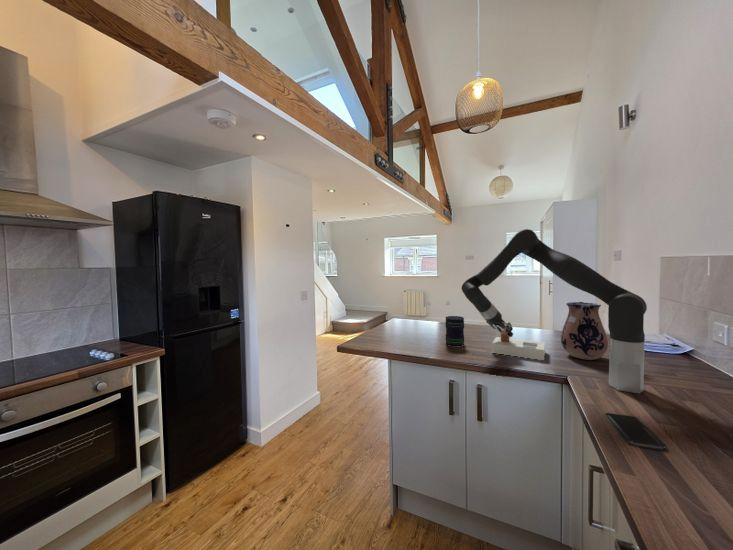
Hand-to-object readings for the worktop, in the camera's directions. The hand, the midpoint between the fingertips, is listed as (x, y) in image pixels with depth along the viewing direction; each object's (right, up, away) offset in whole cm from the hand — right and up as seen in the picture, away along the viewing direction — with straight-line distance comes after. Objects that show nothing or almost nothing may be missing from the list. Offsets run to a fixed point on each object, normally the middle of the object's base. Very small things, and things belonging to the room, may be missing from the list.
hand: (507, 334), depth 148 cm
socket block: (+3, -8, -4) cm, 10 cm away
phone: (0, -12, -70) cm, 71 cm away
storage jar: (-23, -8, +13) cm, 27 cm away
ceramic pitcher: (+30, -8, -10) cm, 33 cm away
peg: (-2, -3, -1) cm, 4 cm away
